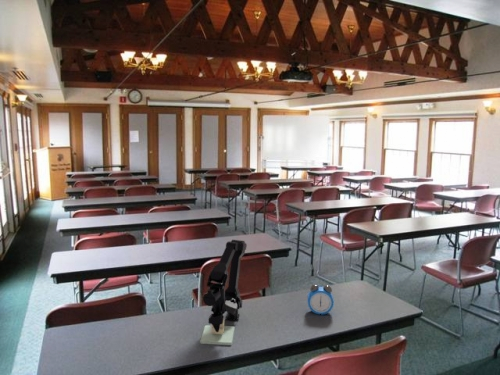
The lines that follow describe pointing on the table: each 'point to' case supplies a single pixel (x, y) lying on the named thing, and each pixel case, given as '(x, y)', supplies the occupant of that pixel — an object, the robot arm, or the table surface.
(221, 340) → the green pad
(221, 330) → the birch cube
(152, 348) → the table surface
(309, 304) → the alarm clock
